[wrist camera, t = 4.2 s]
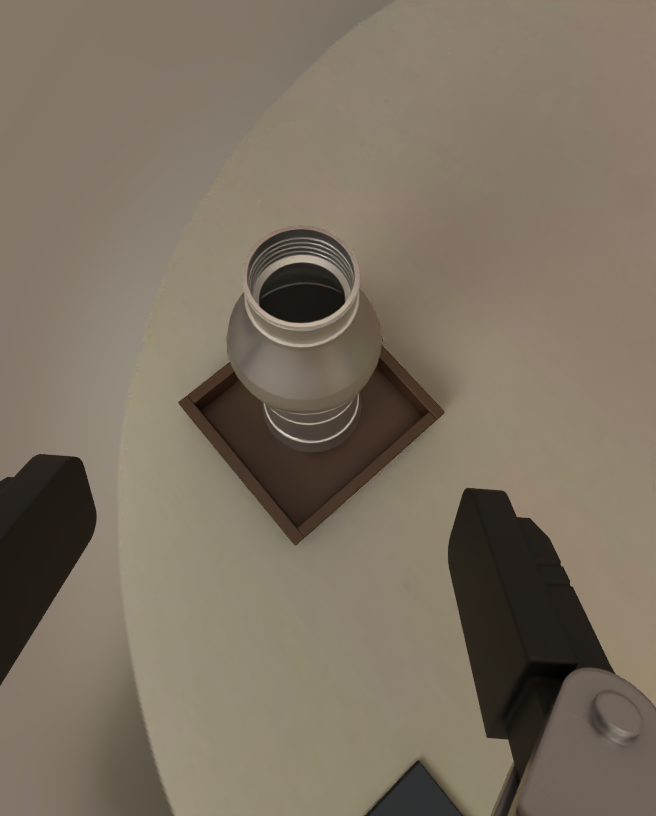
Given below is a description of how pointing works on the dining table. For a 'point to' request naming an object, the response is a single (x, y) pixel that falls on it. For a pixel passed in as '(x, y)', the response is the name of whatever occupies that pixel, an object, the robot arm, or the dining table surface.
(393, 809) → the mat
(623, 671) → the dining table surface
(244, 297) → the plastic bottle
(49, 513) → the robot arm
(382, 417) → the tray
